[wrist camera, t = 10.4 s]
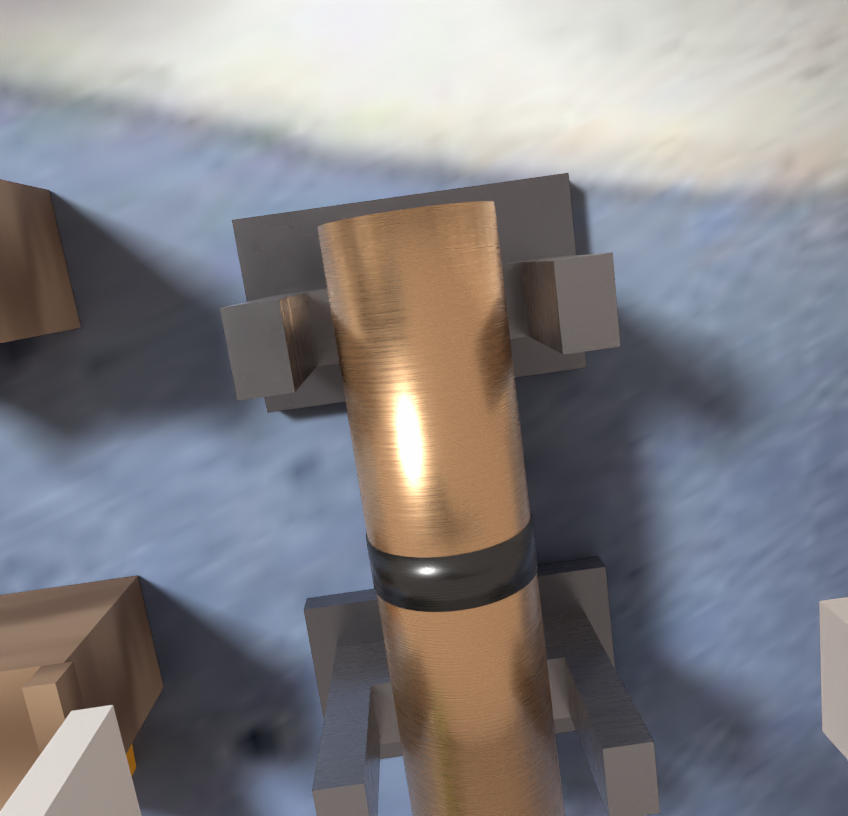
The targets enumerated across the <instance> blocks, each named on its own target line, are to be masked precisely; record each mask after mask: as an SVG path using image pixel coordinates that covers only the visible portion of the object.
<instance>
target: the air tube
mask: <svg viewBox="0 0 848 816" xmlns="http://www.w3.org/2000/svg"><path fill="white" fill-rule="evenodd" d="M317 228H318V234H319V240H320V247H321V253H322V259H323V265H324V271H325V277H326V284H327V290H328V296H329V302H330V308H331V315H332V321H333V327H334V333H335V339H336V345H337V352H338V358H339V364H340V370H341V376H342V382H343V389H344V395H345V401H346V407H347V413H348V420H349V426H350V432H351V438H352V444H353V450H354V457H355V463H356V469H357V475H358V481H359V488H360V494H361V500H362V506H363V512H364V518H365V525H366V531H367V533H366V541H367V547H368V553H369V560H370V566H371V572H372V578H373V584H374V589H375V592H376V593H377V599H378V605H379V611H380V617H381V623H382V630H383V636H384V642H385V648H386V654H387V660H388V667H389V673H390V679H391V685H392V691H393V698H394V704H395V710H396V716H397V722H398V728H399V735H400V741H401V747H402V753H403V759H404V765H405V772H406V778H407V784H408V790H409V796H410V803H411V809H412V815H413V816H565V813H564V804H563V796H562V787H561V778H560V769H559V761H558V752H557V743H556V735H555V726H554V717H553V708H552V700H551V691H550V682H549V673H548V665H547V656H546V647H545V638H544V630H543V621H542V612H541V603H540V595H539V586H538V577H537V570H538V563H537V554H536V545H535V536H534V528H533V519H532V514H531V511H530V507H529V498H528V490H527V481H526V472H525V464H524V455H523V446H522V437H521V429H520V420H519V411H518V402H517V394H516V385H515V376H514V367H513V359H512V350H511V341H510V332H509V324H508V315H507V306H506V297H505V289H504V280H503V271H502V262H501V254H500V245H499V236H498V228H497V219H496V210H495V203H494V202H492V201H476V202H462V203H451V204H441V205H433V206H425V207H417V208H409V209H402V210H395V211H389V212H382V213H376V214H370V215H365V216H359V217H354V218H349V219H344V220H339V221H335V222H331V223H327V224H324V225H321V226H318V227H317Z"/></svg>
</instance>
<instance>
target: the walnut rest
mask: <svg viewBox="0 0 848 816" xmlns="http://www.w3.org/2000/svg"><path fill="white" fill-rule="evenodd" d="M77 328H81V326H80V322H79V318H78V313H77V309H76V305H75V300H74V296H73V292H72V287H71V283H70V278H69V274H68V270H67V265H66V261H65V257H64V252H63V248H62V244H61V239H60V235H59V231H58V226H57V222H56V218H55V213H54V209H53V205H52V200H51V196H50V192H49V190H46V189H42V188H37V187H33V186H28V185H23V184H19V183H14V182H10V181H5V180H1V179H0V343H4V342H9V341H14V340H20V339H25V338H30V337H35V336H41V335H46V334H51V333H56V332H62V331H67V330H72V329H77ZM163 688H164V687H163V682H162V678H161V674H160V669H159V665H158V660H157V656H156V652H155V647H154V643H153V639H152V634H151V630H150V626H149V621H148V617H147V613H146V608H145V604H144V600H143V595H142V591H141V587H140V582H139V578H138V576H131V577H124V578H117V579H110V580H103V581H96V582H89V583H82V584H75V585H68V586H61V587H54V588H47V589H40V590H33V591H26V592H19V593H12V594H5V595H0V811H1V809H2V808H3V807H4V805H5V804H6V802H7V801H8V800H9V798H10V797H11V795H12V794H13V793H14V791H15V790H16V788H17V787H18V785H19V784H20V783H21V781H22V780H23V778H24V777H25V776H26V774H27V773H28V771H29V770H30V769H31V767H32V766H33V764H34V763H35V761H36V760H37V759H38V757H39V756H40V754H41V753H42V752H43V750H44V749H45V747H46V746H47V745H48V743H49V742H50V740H51V739H52V738H53V736H54V735H55V733H56V732H57V730H58V729H59V728H60V726H61V725H62V723H63V722H64V721H65V719H66V718H67V716H68V715H69V714H70V712H71V711H74V710H81V709H88V708H95V707H102V706H108V705H113V707H114V710H115V714H116V718H117V722H118V726H119V730H120V734H121V738H122V742H123V746H124V749H125V753H127V752H128V750H129V748H130V746H131V744H132V743H133V741H134V739H135V737H136V736H137V734H138V732H139V730H140V728H141V727H142V725H143V723H144V721H145V720H146V718H147V716H148V714H149V712H150V711H151V709H152V707H153V705H154V704H155V702H156V700H157V698H158V697H159V695H160V693H161V691H162V689H163Z"/></svg>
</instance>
